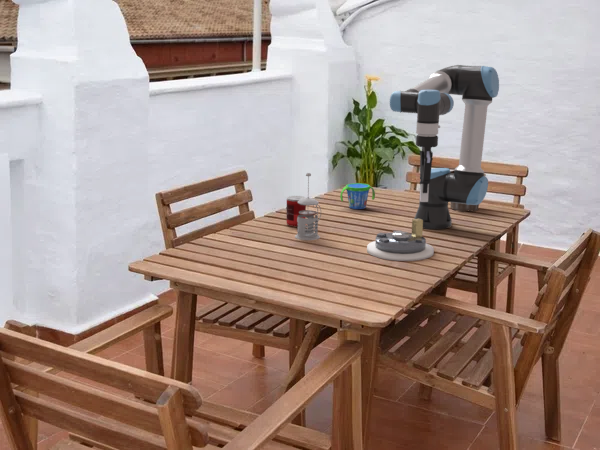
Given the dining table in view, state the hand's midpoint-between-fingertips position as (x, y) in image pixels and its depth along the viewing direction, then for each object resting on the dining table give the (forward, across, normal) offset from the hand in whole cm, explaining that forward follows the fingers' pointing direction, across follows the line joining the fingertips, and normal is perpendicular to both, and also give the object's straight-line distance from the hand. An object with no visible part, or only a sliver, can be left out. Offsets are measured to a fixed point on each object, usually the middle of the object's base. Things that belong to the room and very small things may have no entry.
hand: (423, 201), depth 298 cm
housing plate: (+19, +3, +7) cm, 21 cm away
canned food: (+20, +42, +45) cm, 65 cm away
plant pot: (+20, +74, -30) cm, 82 cm away
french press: (+20, +23, +40) cm, 50 cm away
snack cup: (+20, +73, +18) cm, 78 cm away
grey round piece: (+18, +3, +7) cm, 19 cm away
